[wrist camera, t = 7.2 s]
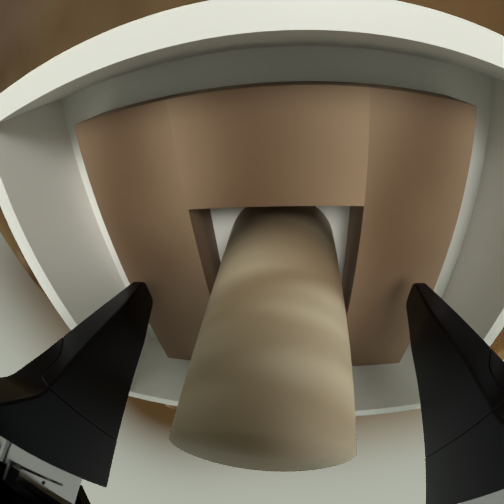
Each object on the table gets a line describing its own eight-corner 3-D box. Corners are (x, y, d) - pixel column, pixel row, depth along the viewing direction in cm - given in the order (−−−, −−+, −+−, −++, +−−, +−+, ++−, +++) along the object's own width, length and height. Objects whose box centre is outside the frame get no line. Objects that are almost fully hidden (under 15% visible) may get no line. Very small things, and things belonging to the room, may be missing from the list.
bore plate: (445, 95, 7) (476, 105, 5) (392, 332, 14) (399, 362, 12) (106, 111, 9) (73, 125, 7) (178, 329, 16) (168, 357, 14)
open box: (491, 61, 6) (580, 84, 2) (423, 335, 15) (440, 404, 11) (60, 83, 9) (-28, 116, 5) (150, 332, 18) (125, 394, 14)
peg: (335, 194, 10) (380, 430, 3) (329, 279, 12) (338, 471, 6) (224, 196, 10) (137, 414, 4) (238, 278, 13) (196, 461, 6)
